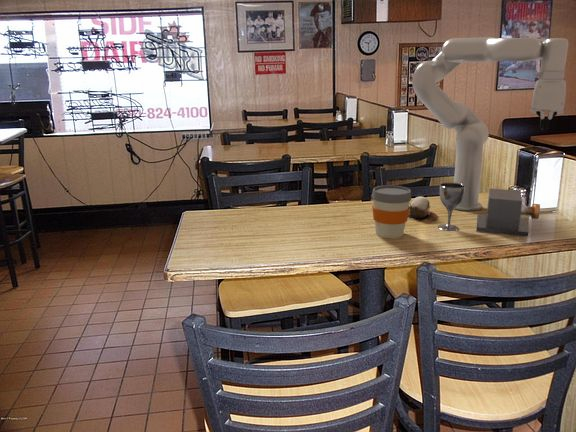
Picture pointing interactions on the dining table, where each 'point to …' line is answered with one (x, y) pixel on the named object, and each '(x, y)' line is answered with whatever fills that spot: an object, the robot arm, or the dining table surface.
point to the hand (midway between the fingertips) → (544, 130)
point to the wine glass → (451, 201)
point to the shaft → (531, 211)
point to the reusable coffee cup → (390, 210)
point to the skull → (421, 210)
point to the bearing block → (503, 214)
